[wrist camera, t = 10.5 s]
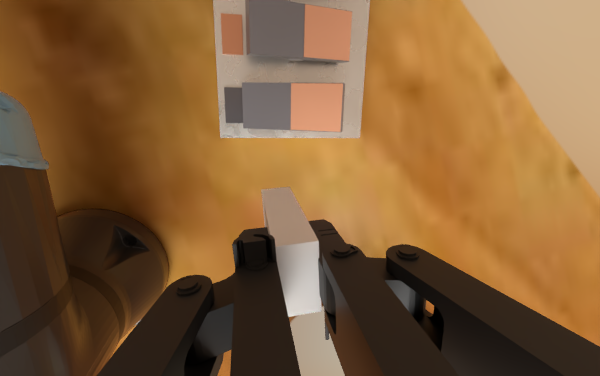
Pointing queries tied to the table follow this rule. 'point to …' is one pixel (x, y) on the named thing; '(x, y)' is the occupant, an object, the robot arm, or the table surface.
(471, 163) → the table surface
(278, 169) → the table surface
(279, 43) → the rocker
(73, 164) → the table surface
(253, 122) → the rocker
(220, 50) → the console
